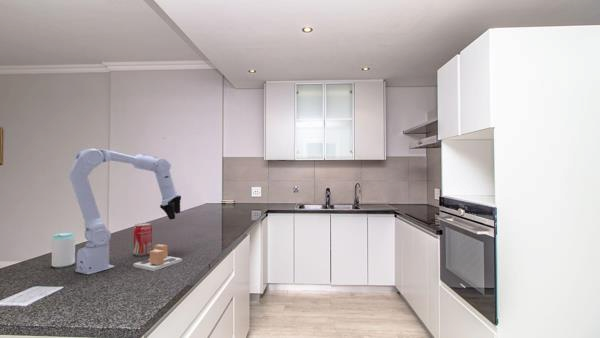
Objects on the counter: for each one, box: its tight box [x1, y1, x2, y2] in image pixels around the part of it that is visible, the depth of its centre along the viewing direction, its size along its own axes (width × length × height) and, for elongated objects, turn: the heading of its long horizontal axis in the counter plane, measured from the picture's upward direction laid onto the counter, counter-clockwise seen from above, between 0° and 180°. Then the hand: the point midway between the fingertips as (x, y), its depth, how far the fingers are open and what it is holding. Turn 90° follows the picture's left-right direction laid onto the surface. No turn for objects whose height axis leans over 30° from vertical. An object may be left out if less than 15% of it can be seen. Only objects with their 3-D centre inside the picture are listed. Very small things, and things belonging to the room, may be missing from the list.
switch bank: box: [133, 255, 183, 272], centre depth 120 cm, size 13×11×1 cm
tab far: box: [153, 243, 169, 257], centre depth 124 cm, size 3×4×5 cm
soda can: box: [133, 222, 153, 257], centre depth 134 cm, size 7×7×13 cm
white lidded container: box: [51, 232, 76, 269], centre depth 118 cm, size 7×7×12 cm
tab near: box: [149, 249, 164, 265], centre depth 116 cm, size 3×4×5 cm
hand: (175, 215), depth 135 cm, fingers open, 7 cm apart
